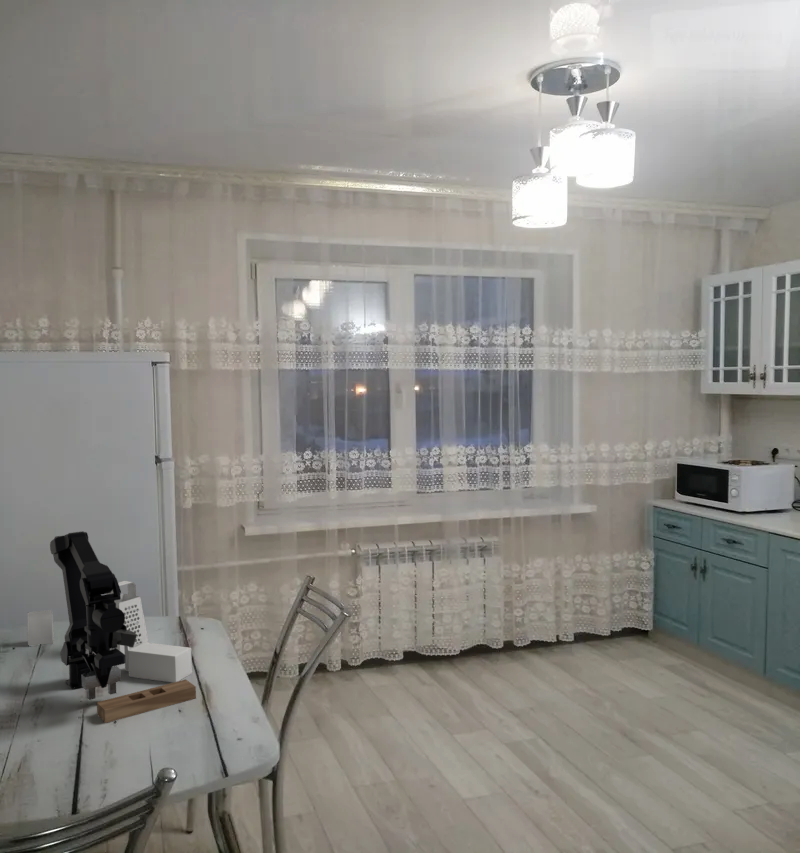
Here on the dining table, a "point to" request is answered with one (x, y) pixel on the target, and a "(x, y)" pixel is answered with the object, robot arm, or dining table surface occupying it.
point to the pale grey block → (40, 627)
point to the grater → (132, 613)
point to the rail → (145, 700)
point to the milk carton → (158, 662)
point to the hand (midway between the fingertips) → (101, 685)
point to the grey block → (91, 682)
